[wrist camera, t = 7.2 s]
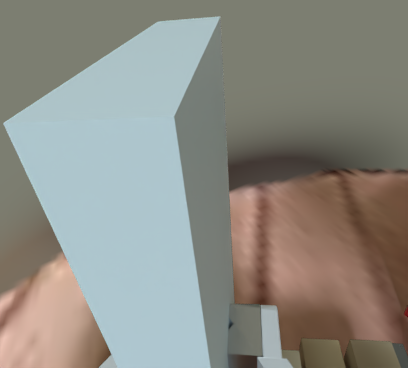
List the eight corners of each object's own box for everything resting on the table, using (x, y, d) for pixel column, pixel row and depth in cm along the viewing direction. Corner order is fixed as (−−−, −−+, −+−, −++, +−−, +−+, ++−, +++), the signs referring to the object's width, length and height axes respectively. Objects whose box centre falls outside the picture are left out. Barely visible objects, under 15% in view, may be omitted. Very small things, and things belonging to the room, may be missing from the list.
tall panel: (239, 398, 19) (220, 16, 7) (237, 554, 14) (175, 116, 3) (213, 396, 19) (158, 21, 8) (203, 549, 14) (3, 123, 3)
